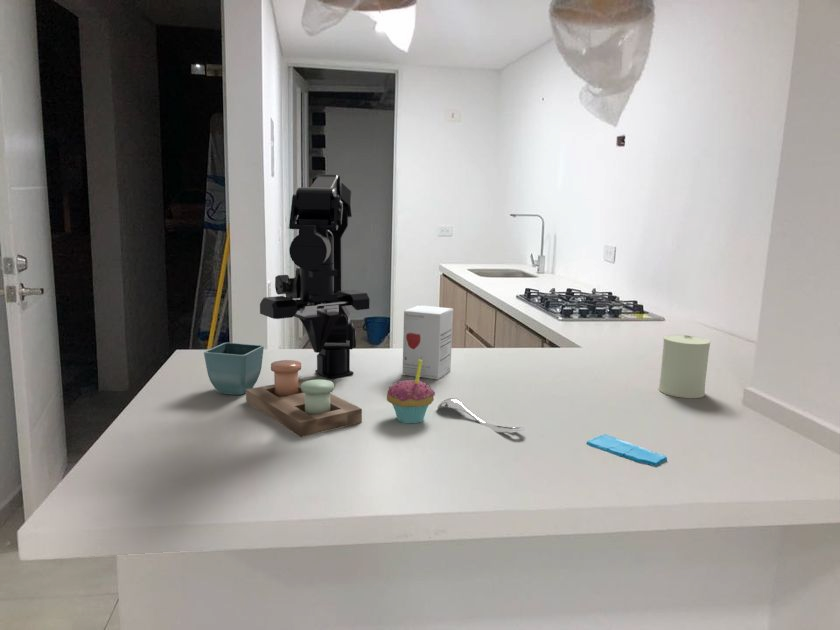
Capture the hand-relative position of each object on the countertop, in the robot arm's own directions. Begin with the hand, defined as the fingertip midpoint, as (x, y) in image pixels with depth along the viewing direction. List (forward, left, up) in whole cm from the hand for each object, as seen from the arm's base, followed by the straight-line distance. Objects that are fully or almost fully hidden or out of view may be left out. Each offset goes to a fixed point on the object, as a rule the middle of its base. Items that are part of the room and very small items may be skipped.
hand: (317, 352), depth 107 cm
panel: (+1, -5, -12) cm, 13 cm away
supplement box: (-35, -13, -13) cm, 40 cm away
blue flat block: (-33, +41, -13) cm, 54 cm away
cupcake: (-13, +9, -13) cm, 21 cm away
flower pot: (+6, -24, -13) cm, 27 cm away
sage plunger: (+1, +1, -12) cm, 12 cm away
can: (-71, +29, -13) cm, 78 cm away
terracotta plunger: (+1, -11, -11) cm, 15 cm away
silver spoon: (-23, +18, -13) cm, 32 cm away
